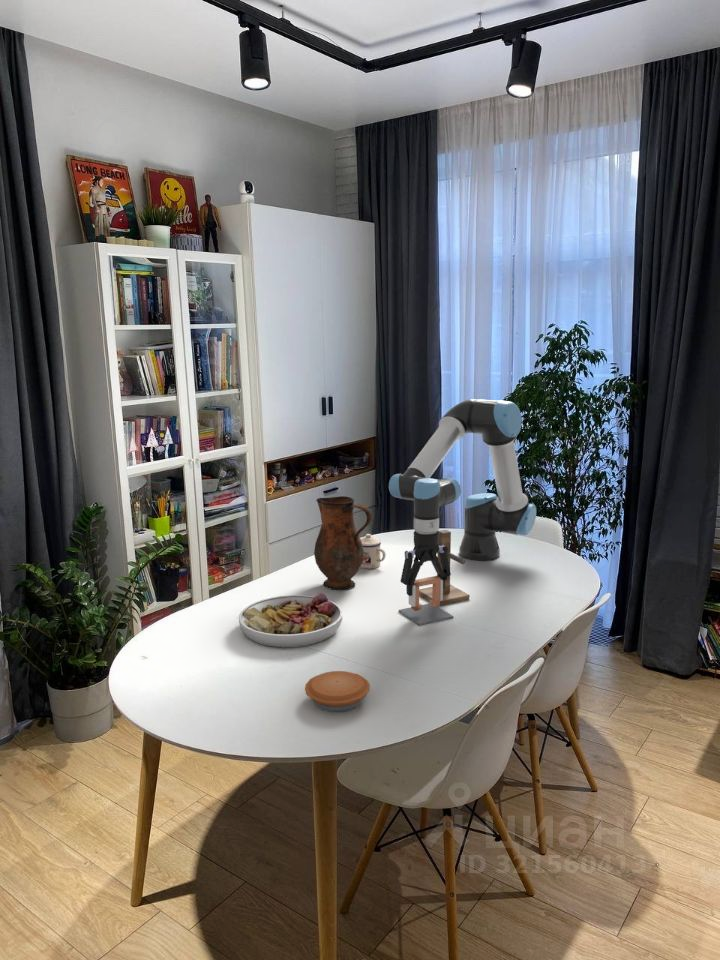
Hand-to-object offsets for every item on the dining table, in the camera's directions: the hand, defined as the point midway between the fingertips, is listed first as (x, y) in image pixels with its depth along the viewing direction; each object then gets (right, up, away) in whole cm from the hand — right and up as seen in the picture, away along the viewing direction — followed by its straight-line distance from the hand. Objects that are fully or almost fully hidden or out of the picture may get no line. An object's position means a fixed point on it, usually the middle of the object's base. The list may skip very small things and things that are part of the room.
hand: (425, 602), depth 230 cm
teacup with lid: (-16, +6, +46) cm, 49 cm away
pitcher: (-25, +1, +26) cm, 36 cm away
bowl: (-40, -7, -8) cm, 42 cm away
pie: (-25, -16, -49) cm, 57 cm away
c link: (0, -2, 0) cm, 2 cm away
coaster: (0, -4, +1) cm, 4 cm away
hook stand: (+8, -1, +13) cm, 16 cm away
